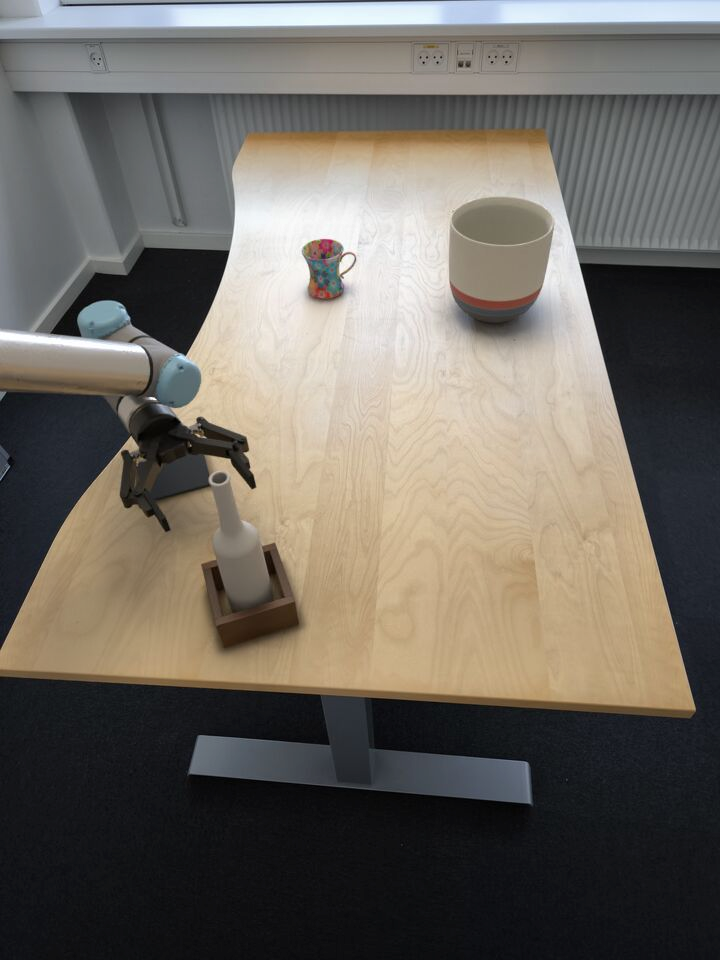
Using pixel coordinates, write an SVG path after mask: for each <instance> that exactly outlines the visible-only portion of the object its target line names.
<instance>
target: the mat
mask: <svg viewBox="0 0 720 960" xmlns="http://www.w3.org/2000/svg"><path fill="white" fill-rule="evenodd" d="M205 457H206V456H205V455H203V454H198V455H191V454H186V456H185V457H183V458H179V459H176V460H175V461H173V462H172V463H170V464H167V463H166V464H163V466H162V469H161V471H160V473H158V474H157V477H156V479H155V482H154V484H153V487H152V489H151V491H150V494H151V496H152V497H153V499H154V500H155V501H159V500H162V499H163V500H164V499H166V498H169V497H173V496H178V495H181V494H185V493H188V492H192V491H196V490H199V489H203V488H207V487H211V485H210V484H209V476H210V475H211V474H210V470H209V468H208V465H207V460H206V458H205ZM145 463H146V460H144V461H139V463H138V466H137V467H136V472H137V476H138V478H139V477H140V475H141V472H142V470H143V468H144V465H145Z"/></svg>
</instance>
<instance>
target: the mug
mask: <svg viewBox="0 0 720 960" xmlns="http://www.w3.org/2000/svg"><path fill="white" fill-rule="evenodd" d="M344 250H345V249H344V246H343V244H342V243H341V242H339V241H338V240H335V239H332V238H319V239H314V240H311V241H308V242H307V243H305V244H304V245H303V246H302V248H301V255H302V256H303V258H304V260H305V262H306V264H307V267H308V270H309V282H308V285H307V292H308V294H309V295H311V296H312V297H314V298H317V299H323V300H325V299H327V300H328V299H333V298H336V297H338V296H339V295H341V294H342V293H343V292H344V290H345V283H344V282H343V281H342V280H344V279H345V276H344V275H345V274H347V273H349V272H350V271H351V270H352V269H353V268H354V266H355V265H356V262H357V255H356V253H355V252H352V251H346V252H344ZM348 255H351V256H353V257H354V260H353V262H352V264H351V265H350V266H349V267H348V268H347V269H346V270H344V271H342V272H341V273H340V263H342V260H343V258H345V256H348Z"/></svg>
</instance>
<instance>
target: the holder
mask: <svg viewBox="0 0 720 960" xmlns="http://www.w3.org/2000/svg"><path fill="white" fill-rule="evenodd" d="M261 546H262V550H263V554H264V558H265V562H266V566H267V570H268V574H269V576H272V575H274V576H275V579H276V582H277V586H278V590H279V592H280V596H281V598H278V599H274V600H275V601H272V602H269V603H265V604H262V605H259V606H256V607H252V608H249V609H246V610H243V611H239V612H236V613H230V614H226V615H225V613H224V609H223V606H222V601H221V597H220V593H219V591H222V590H225V588H224V584H223V581H222V577H221V574H220V571H219V567H218V564H217V560H216V559H214V560H209V561H207V562H203V563H201V564H200V565H201V570H202V574H203V578H204V582H205V586H206V591H207V595H208V599H209V603H210V607H211V611H212V615H213V620H214V624H215V628H216V631H217V633H218V636H219V639H220V642H221V644H222V647H223V649H225V648H229V647H232V646H235V645H238V644H241V643H245V642H247V641H250V640H251V641H252V640H254V639H258V638H260V637H263V636H267V635H270V634H273V633H276V632H279V631H283V630H286V629H289V628H292V627H296V626H298V625H300V620H299V614H298V608H297V604H296V601H295V600H296V599H295V597H294V594H293V591H292V587H291V585H290V582H289V580H288V576H287V573H286V570H285V566H284V565H283V562H282V558H281V555H280V553H279V550H278V546H277V543H276V542H271V543H269V544H264V545H261Z"/></svg>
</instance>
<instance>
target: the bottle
mask: <svg viewBox="0 0 720 960" xmlns="http://www.w3.org/2000/svg"><path fill="white" fill-rule="evenodd" d="M231 479H232V476H231V473H230V472H229V471H226V470H222V469H221V470H219V469H218V470H216V471H213V472H212V473H211V474H210V476H209V484H210V485H211V486H210V488H211V492H212V494H213V498H214V502H215V506H216V510H217V514H218V515H217V516H218V521H219V524H220V526H219V527H218V528H217V529H216V530H215V532H214V534H213V537H212V538H211V539H212V540H211V545H212V549H213V553H214V556H215V560H217V564H218V567H219V571H220V574H221V577H222V581H223V584H224V588H225V589H224V590H225V594H226V599H227V601H228V605H229V607H230V612H231V614H233V613H236V612H239V611H243V610H246V609H249V608H252V607H256V606H259V605H262V604H265V603H269V602H272V601H275V600H276V599H275V596H274V592H273V586H272V582H271V579H270V575H269V574H268V570H267V566H266V562H265V558H264V554H263V550H262V546H263V545H262V541H261V538H260V533H259V532H258V530H257V527H256V526H254V525H253V524H252V523H250V522H248V521H245V520H244V519H243V520H242V517H241V515H240V512H239V509H238V506H237V502H236V499H235V495H234V491H233V487H232V483H231Z"/></svg>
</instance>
